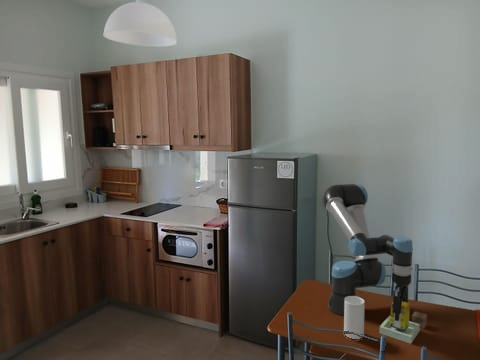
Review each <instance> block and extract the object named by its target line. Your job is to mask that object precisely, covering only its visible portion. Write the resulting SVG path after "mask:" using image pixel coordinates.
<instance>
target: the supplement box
mask: <svg viewBox="0 0 480 360" xmlns="http://www.w3.org/2000/svg"><path fill="white" fill-rule="evenodd" d="M410 306H411V303H410V302H408V303H407V302H403V301H402V305H401V328H398V327H395V326H394V313H393V312H392V311H393V301H392V302H391V306H390V316H391V322H390V326H391V327H394V328H396V329H399V330H401V331H405V330H406V329H407V328H408V327H409V321H410V309H411V307H410Z"/></svg>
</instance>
